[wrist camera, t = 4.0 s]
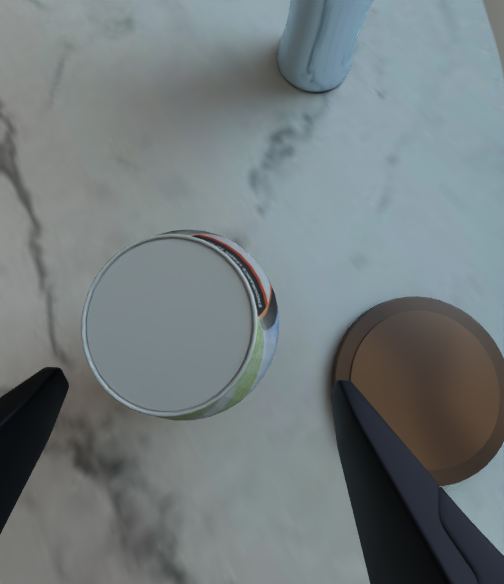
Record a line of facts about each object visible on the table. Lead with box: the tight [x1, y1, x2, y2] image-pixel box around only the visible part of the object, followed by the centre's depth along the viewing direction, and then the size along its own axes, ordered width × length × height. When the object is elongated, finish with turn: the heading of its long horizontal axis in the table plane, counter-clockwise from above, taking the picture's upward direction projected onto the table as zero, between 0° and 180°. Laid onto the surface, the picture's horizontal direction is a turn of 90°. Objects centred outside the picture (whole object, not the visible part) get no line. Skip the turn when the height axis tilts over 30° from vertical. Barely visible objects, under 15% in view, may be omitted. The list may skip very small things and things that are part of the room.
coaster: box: [332, 297, 504, 486], centre depth 19 cm, size 12×12×1 cm
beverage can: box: [81, 230, 279, 420], centre depth 13 cm, size 6×7×12 cm
